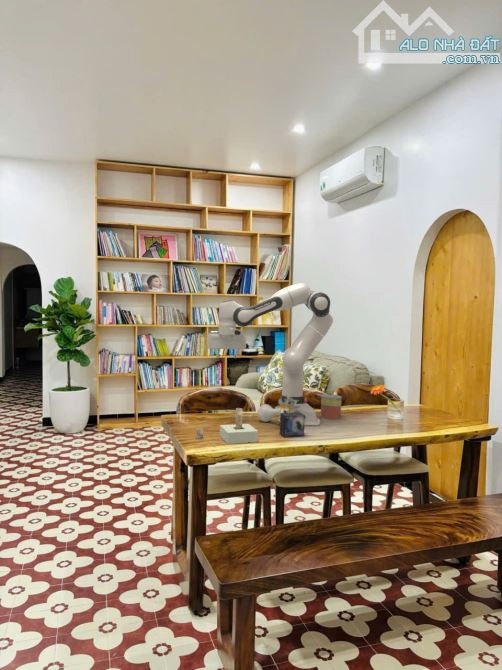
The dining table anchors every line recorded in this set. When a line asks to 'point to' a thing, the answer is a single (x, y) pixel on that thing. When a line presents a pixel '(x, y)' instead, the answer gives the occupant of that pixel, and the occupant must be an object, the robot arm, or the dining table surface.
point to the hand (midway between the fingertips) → (226, 357)
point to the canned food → (331, 407)
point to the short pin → (199, 433)
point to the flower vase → (277, 409)
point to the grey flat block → (238, 434)
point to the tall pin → (238, 418)
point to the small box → (292, 424)
